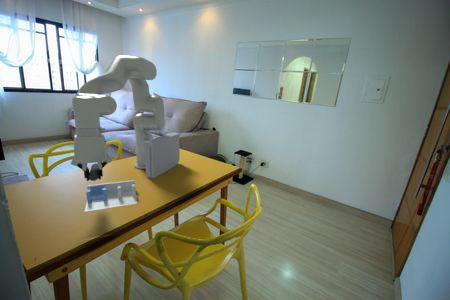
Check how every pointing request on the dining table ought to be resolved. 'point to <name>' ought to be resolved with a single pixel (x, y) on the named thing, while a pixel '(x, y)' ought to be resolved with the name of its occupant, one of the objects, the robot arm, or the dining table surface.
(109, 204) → the white holder rack
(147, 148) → the game console
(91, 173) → the cylinder
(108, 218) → the dining table surface
